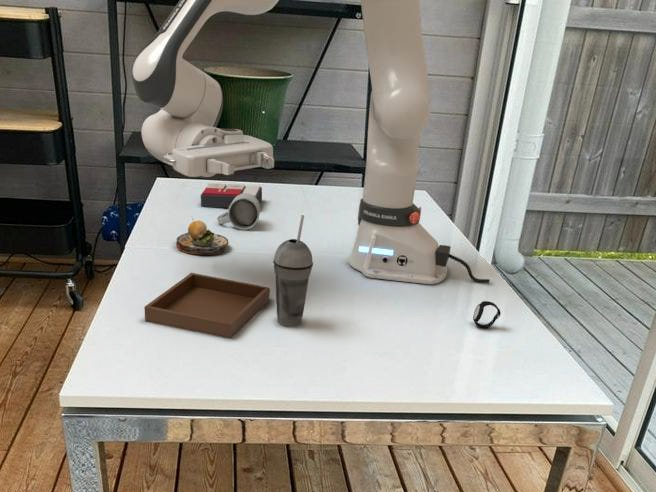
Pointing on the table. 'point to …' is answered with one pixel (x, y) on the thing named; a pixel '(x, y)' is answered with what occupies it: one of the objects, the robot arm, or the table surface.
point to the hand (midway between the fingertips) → (251, 166)
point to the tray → (208, 305)
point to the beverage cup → (292, 279)
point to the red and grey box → (227, 194)
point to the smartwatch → (479, 313)
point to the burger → (201, 240)
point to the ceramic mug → (242, 212)
